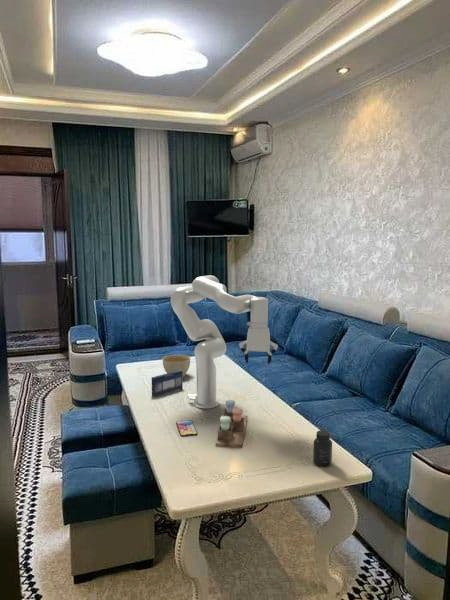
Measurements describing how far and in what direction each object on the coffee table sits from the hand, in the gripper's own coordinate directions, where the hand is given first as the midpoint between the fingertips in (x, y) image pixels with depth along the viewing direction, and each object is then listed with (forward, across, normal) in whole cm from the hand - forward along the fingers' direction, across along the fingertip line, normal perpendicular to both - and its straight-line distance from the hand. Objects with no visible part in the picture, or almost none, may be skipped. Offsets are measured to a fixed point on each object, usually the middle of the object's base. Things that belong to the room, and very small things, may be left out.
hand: (257, 362), depth 214 cm
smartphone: (+27, -29, -15) cm, 43 cm away
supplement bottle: (+26, +27, -37) cm, 53 cm away
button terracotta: (+23, -7, -15) cm, 28 cm away
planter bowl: (+27, -50, +54) cm, 79 cm away
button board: (+26, -9, -15) cm, 32 cm away
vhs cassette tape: (+27, -49, +28) cm, 63 cm away
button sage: (+23, -11, -24) cm, 35 cm away
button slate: (+23, -11, -6) cm, 26 cm away
